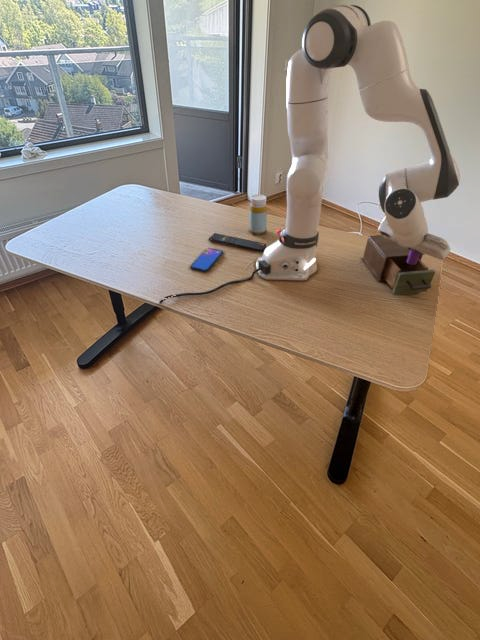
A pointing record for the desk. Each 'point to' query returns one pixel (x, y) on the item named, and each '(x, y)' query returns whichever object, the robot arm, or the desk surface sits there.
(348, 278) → the desk surface
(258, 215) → the bottle
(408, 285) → the drawer
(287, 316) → the desk surface
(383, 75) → the robot arm
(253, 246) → the remote control
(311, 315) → the desk surface
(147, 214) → the desk surface
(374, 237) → the cabinet
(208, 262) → the smartphone
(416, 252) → the glue stick
